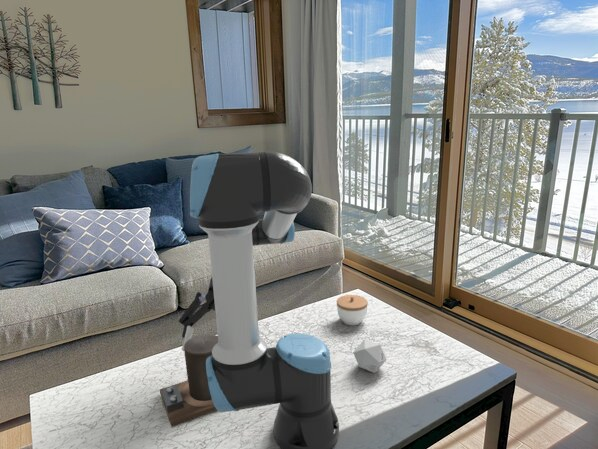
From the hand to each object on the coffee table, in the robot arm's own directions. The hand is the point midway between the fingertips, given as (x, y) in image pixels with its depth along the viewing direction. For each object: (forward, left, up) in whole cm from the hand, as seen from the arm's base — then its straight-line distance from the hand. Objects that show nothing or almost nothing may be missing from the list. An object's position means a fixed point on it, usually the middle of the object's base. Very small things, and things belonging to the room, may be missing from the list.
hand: (208, 353), depth 110 cm
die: (-16, -42, -11) cm, 46 cm away
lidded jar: (+9, -54, -11) cm, 56 cm away
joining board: (-3, +2, -10) cm, 11 cm away
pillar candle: (-3, +2, -9) cm, 9 cm away
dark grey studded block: (-3, +2, -9) cm, 10 cm away
